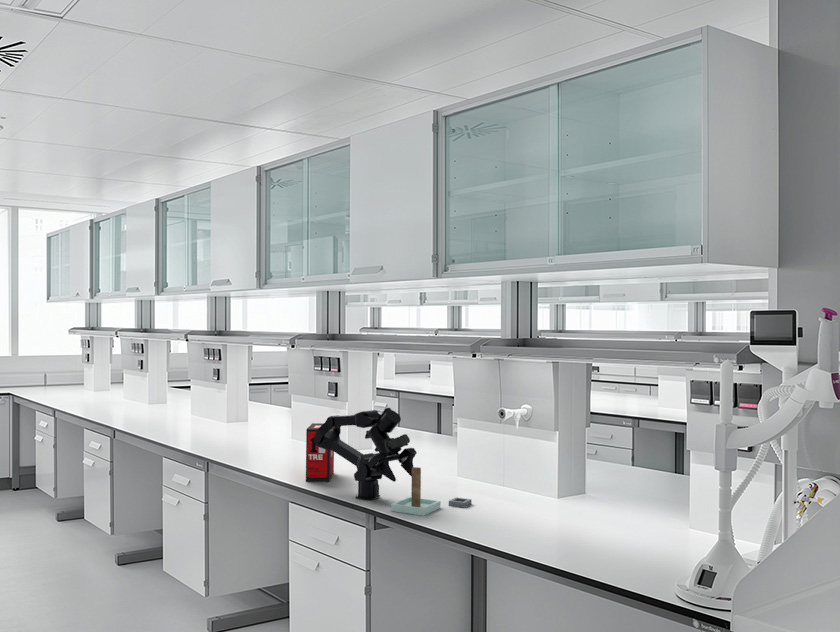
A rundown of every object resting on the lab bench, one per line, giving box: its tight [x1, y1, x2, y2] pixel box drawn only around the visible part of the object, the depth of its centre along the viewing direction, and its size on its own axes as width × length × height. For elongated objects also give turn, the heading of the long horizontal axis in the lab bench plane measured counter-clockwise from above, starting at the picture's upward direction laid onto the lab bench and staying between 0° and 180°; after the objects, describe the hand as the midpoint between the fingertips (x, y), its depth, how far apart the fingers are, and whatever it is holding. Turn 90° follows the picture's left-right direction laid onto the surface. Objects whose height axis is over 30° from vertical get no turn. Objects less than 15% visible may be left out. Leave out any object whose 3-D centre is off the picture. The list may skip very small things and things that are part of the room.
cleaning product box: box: [305, 422, 335, 483], centre depth 302 cm, size 16×9×20 cm, turn 0°
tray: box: [390, 496, 441, 517], centre depth 253 cm, size 12×12×2 cm
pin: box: [410, 466, 422, 507], centre depth 253 cm, size 3×3×12 cm
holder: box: [448, 497, 472, 509], centre depth 260 cm, size 6×6×2 cm
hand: (404, 478), depth 256 cm, fingers open, 9 cm apart
